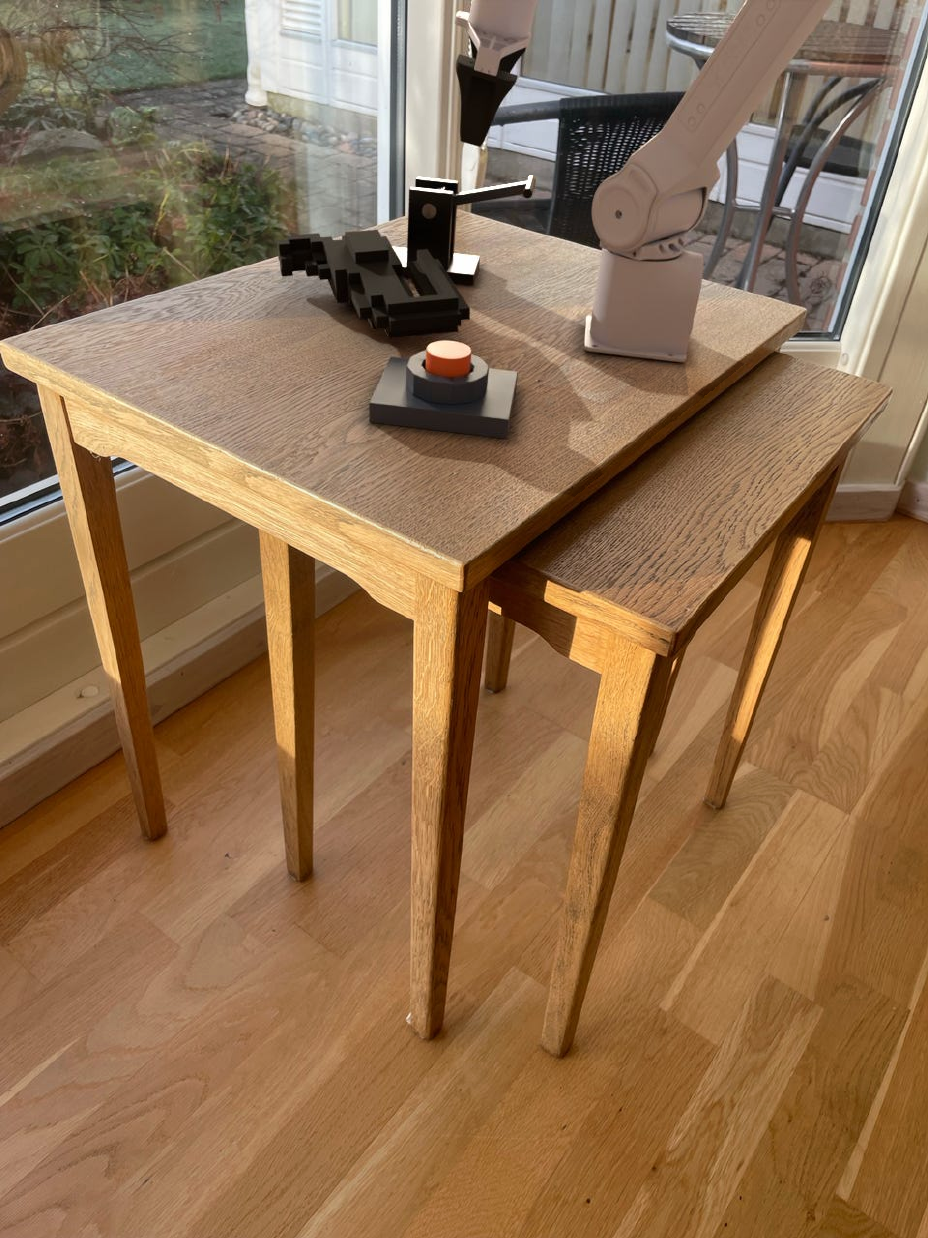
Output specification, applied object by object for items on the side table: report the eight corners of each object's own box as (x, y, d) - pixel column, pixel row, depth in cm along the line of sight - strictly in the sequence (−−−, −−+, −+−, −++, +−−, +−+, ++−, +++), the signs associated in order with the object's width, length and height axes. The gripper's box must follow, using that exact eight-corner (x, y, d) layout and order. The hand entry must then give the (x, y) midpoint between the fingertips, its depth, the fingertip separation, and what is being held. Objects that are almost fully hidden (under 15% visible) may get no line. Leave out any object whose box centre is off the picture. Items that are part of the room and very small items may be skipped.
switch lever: (537, 191, 102) (533, 167, 101) (534, 205, 98) (530, 179, 97) (426, 210, 104) (421, 186, 103) (418, 224, 101) (413, 199, 99)
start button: (472, 363, 81) (474, 342, 80) (467, 382, 78) (468, 361, 77) (429, 358, 81) (430, 337, 80) (422, 376, 78) (423, 355, 77)
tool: (302, 305, 83) (473, 289, 86) (273, 221, 98) (420, 211, 101) (308, 363, 87) (472, 346, 90) (279, 274, 102) (420, 262, 105)
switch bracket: (479, 266, 108) (486, 182, 102) (472, 285, 103) (479, 198, 98) (389, 256, 108) (391, 171, 103) (378, 275, 104) (380, 187, 98)
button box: (516, 389, 85) (520, 351, 82) (506, 439, 78) (511, 398, 75) (389, 374, 85) (390, 335, 83) (369, 422, 78) (369, 381, 76)
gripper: (477, -62, 91) (447, 91, 101) (456, -22, 81) (424, 144, 91) (550, -40, 92) (513, 111, 102) (538, 3, 82) (498, 165, 92)
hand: (475, 128), depth 96 cm, fingers open, 7 cm apart
